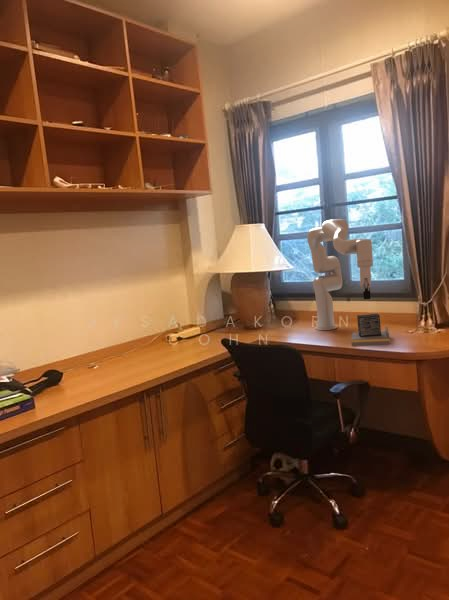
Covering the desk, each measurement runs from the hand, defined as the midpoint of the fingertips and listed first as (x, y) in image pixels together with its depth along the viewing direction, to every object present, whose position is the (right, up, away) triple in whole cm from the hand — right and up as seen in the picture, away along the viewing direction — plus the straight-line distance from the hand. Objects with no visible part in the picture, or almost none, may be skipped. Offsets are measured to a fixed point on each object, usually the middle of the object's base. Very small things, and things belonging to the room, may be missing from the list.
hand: (367, 297), depth 244 cm
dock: (+2, -22, +2) cm, 22 cm away
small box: (+2, -19, +2) cm, 20 cm away
